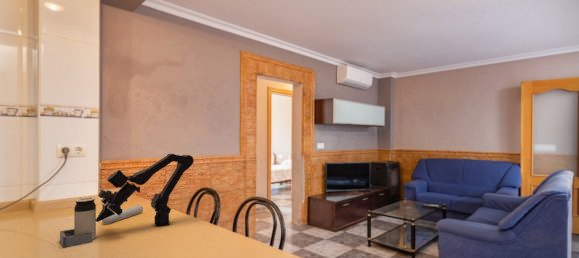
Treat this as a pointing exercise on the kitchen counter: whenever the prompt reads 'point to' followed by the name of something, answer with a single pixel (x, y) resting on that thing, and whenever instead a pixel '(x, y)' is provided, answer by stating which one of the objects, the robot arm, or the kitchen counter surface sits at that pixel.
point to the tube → (123, 214)
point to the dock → (74, 238)
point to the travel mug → (85, 216)
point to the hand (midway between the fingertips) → (96, 221)
